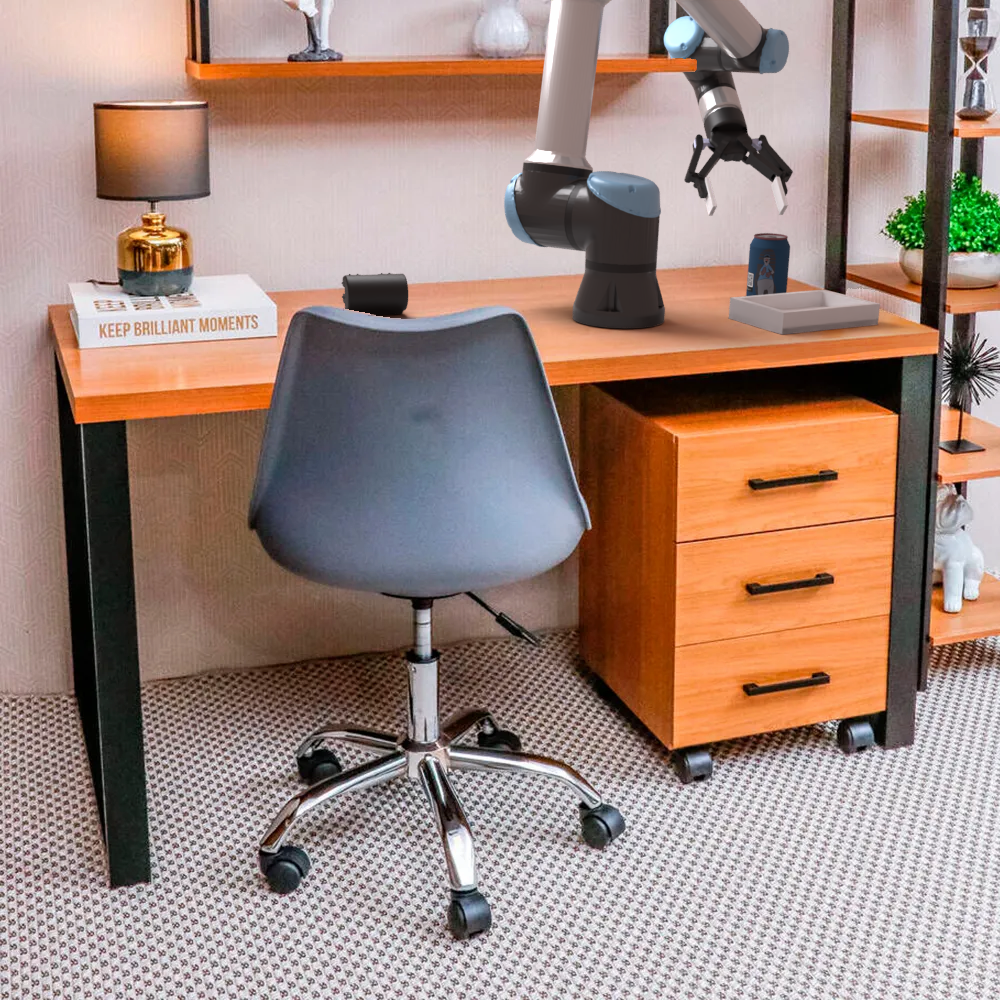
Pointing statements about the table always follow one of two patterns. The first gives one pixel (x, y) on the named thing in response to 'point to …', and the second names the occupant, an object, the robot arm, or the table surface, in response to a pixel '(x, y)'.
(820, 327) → the tray
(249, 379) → the table surface
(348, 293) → the end cap
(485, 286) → the table surface
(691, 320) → the table surface
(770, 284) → the soda can
